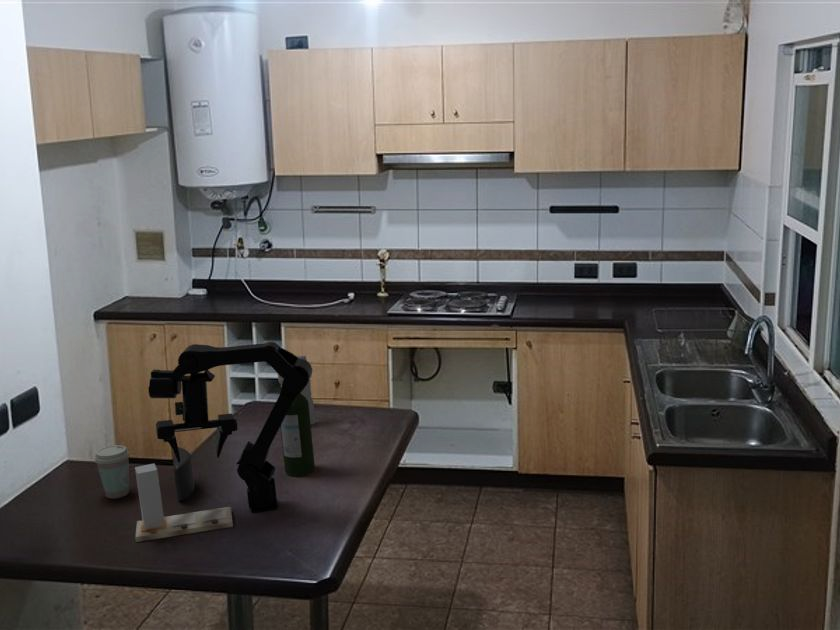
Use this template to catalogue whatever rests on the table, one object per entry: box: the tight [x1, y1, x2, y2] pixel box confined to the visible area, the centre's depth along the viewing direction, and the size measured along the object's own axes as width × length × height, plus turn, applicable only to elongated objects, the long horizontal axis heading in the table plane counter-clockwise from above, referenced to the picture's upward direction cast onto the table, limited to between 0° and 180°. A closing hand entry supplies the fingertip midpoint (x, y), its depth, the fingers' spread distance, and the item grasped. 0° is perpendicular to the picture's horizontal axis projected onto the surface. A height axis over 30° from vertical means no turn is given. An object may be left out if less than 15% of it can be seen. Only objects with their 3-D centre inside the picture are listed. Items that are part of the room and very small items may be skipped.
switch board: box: [134, 506, 234, 543], centre depth 231 cm, size 22×9×2 cm, turn 103°
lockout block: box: [134, 463, 165, 530], centre depth 228 cm, size 4×4×14 cm
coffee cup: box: [94, 444, 130, 499], centre depth 251 cm, size 9×9×12 cm
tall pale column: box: [277, 355, 316, 426], centre depth 291 cm, size 11×4×22 cm, turn 119°
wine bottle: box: [279, 393, 316, 477], centre depth 256 cm, size 8×8×30 cm
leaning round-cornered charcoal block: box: [172, 446, 196, 501], centre depth 251 cm, size 16×5×9 cm, turn 15°
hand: (198, 459), depth 237 cm, fingers open, 9 cm apart
